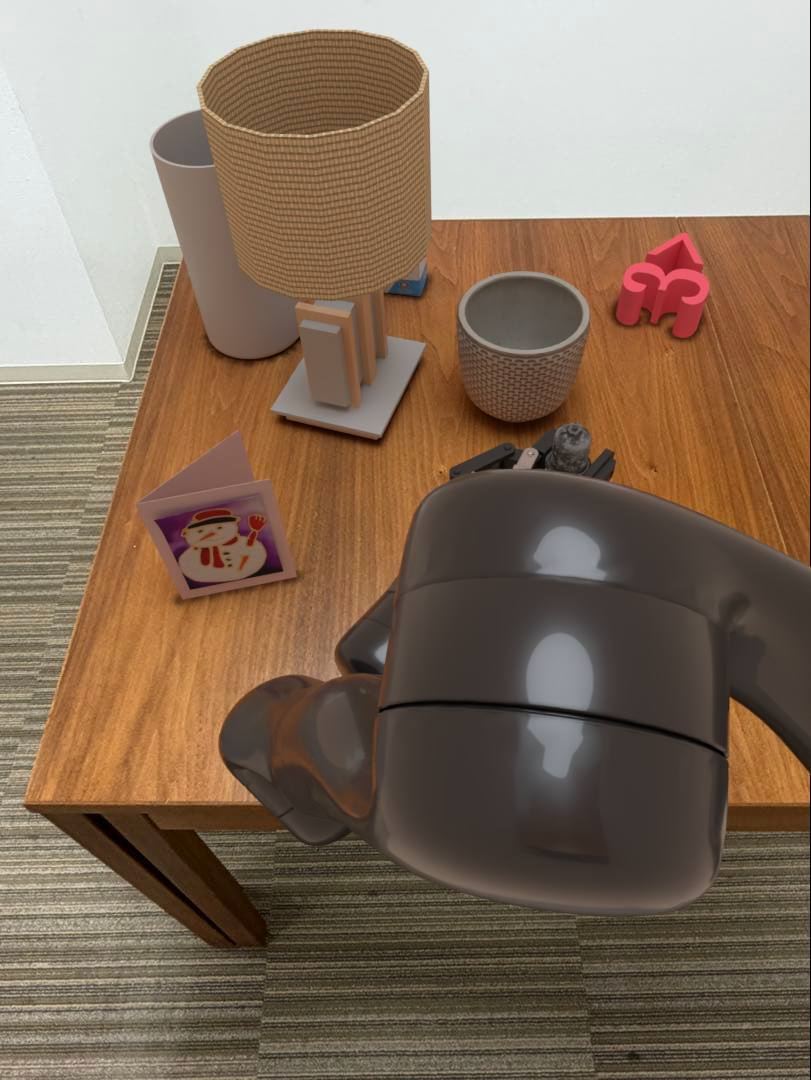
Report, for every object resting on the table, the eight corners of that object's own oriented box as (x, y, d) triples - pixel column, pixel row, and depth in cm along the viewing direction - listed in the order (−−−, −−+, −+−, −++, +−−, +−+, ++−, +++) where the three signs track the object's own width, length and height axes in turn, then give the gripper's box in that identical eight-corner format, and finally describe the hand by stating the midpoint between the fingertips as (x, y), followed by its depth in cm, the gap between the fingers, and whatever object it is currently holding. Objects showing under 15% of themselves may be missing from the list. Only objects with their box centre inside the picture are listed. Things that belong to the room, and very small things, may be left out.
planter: (596, 387, 94) (614, 295, 83) (540, 463, 87) (552, 373, 77) (493, 347, 99) (498, 255, 88) (432, 416, 92) (430, 325, 82)
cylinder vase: (319, 306, 105) (288, 112, 85) (284, 369, 98) (241, 174, 78) (232, 293, 108) (182, 101, 87) (192, 353, 101) (127, 160, 80)
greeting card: (182, 606, 78) (134, 512, 66) (179, 547, 83) (133, 448, 70) (298, 583, 79) (271, 486, 67) (288, 526, 84) (262, 424, 72)
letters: (639, 258, 108) (647, 225, 104) (716, 275, 105) (727, 241, 101) (611, 321, 101) (618, 288, 97) (692, 340, 98) (702, 307, 94)
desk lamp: (310, 324, 103) (258, 19, 74) (455, 353, 98) (458, 40, 70) (242, 429, 92) (152, 120, 64) (402, 467, 88) (381, 152, 59)
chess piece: (515, 501, 71) (526, 401, 61) (579, 489, 71) (600, 389, 62) (534, 553, 67) (549, 456, 58) (601, 541, 68) (627, 443, 58)
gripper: (548, 609, 51) (676, 452, 59) (380, 506, 57) (517, 374, 65) (537, 664, 57) (655, 515, 65) (386, 566, 63) (511, 439, 71)
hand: (585, 446), depth 65 cm, fingers closed on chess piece, 3 cm apart
